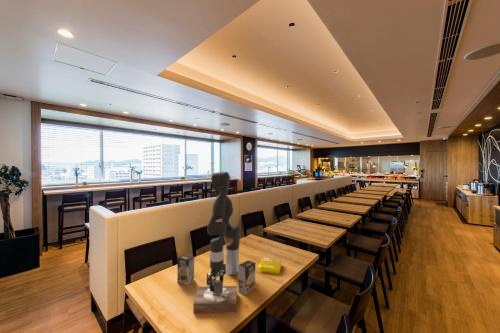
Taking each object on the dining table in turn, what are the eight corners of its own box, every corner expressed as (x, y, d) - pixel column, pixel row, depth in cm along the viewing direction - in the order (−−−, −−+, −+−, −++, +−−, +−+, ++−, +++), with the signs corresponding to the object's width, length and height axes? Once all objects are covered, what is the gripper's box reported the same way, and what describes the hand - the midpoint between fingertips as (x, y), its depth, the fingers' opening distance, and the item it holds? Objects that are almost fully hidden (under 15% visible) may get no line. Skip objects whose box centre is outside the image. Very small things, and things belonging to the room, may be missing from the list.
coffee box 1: (176, 282, 136) (176, 257, 136) (183, 277, 142) (183, 253, 142) (188, 285, 133) (188, 260, 133) (194, 280, 139) (194, 255, 139)
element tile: (258, 272, 150) (258, 265, 150) (262, 262, 164) (262, 256, 164) (279, 275, 146) (279, 268, 146) (281, 265, 160) (281, 259, 160)
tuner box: (199, 294, 123) (199, 285, 123) (236, 294, 124) (236, 285, 124) (193, 313, 108) (193, 302, 108) (235, 312, 109) (235, 302, 109)
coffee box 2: (245, 295, 123) (246, 268, 123) (237, 291, 127) (238, 265, 127) (255, 288, 130) (255, 262, 130) (247, 284, 134) (247, 259, 134)
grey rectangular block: (209, 293, 116) (209, 281, 116) (214, 289, 119) (214, 277, 119) (224, 299, 111) (224, 286, 111) (228, 295, 114) (228, 282, 114)
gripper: (219, 251, 124) (219, 279, 124) (202, 261, 111) (202, 292, 112) (229, 254, 120) (229, 282, 120) (214, 265, 108) (214, 296, 108)
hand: (216, 287), depth 116 cm, fingers open, 8 cm apart
